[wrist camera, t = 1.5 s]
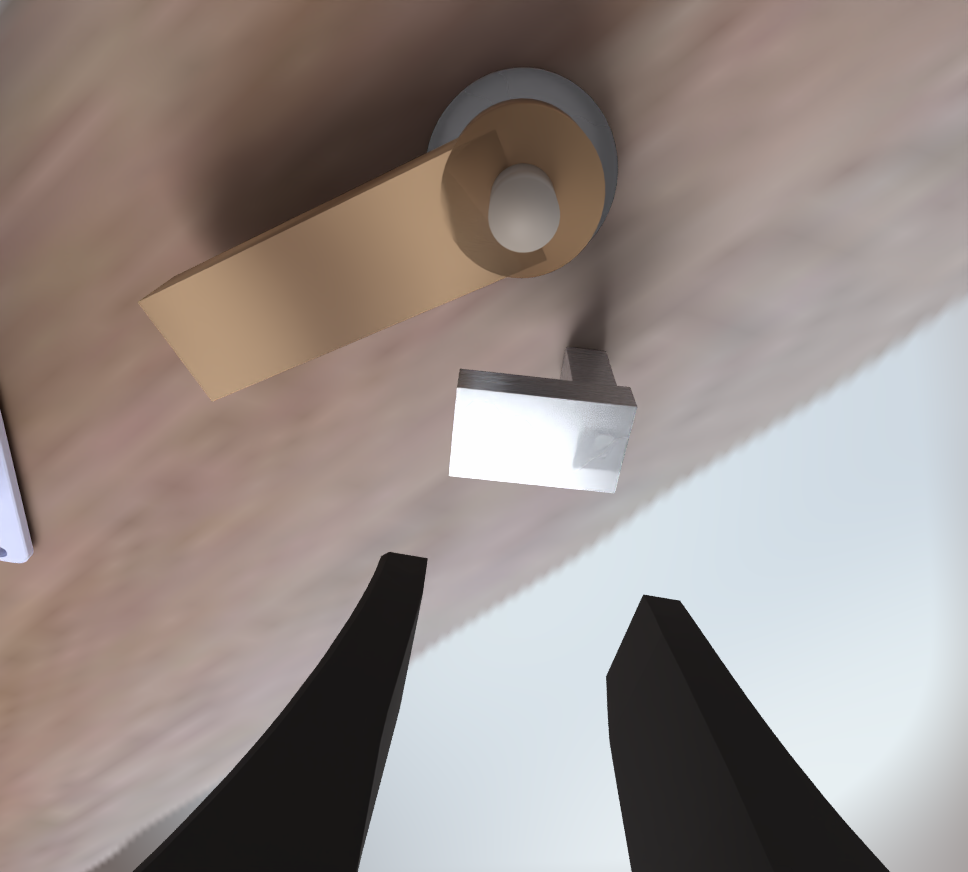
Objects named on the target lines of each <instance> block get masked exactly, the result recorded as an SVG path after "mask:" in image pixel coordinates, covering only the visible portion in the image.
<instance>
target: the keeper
mask: <svg viewBox="0 0 968 872" xmlns="http://www.w3.org/2000/svg"><path fill="white" fill-rule="evenodd" d="M636 410H637V405H636V402H635V399H634V397H633V394H632V391H631V388H630V387H622V386H617V385H616V382H615V379H614V375H613V372H612V369H611V366H610V363H609V359H608V356H607V353H606V351H599V350H590V349H581V348H572V347H566V350H565V356H564V361H563V366H562V372H561V377H560V380H559V379H549V378H540V377H531V376H522V375H513V374H504V373H495V372H486V371H476V370H467V369H460V372H459V378H458V385H457V394H456V405H455V415H454V426H453V437H452V448H451V458H450V469H449V476H456V477H465V478H475V479H484V480H494V481H503V482H513V483H522V484H532V485H541V486H551V487H560V488H570V489H580V490H589V491H599V492H608V493H615V489H616V486H617V482H618V478H619V474H620V470H621V467H622V463H623V459H624V455H625V452H626V448H627V444H628V440H629V436H630V433H631V429H632V425H633V421H634V417H635V414H636Z"/></svg>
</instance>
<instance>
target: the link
mask: <svg viewBox="0 0 968 872" xmlns="http://www.w3.org/2000/svg"><path fill="white" fill-rule="evenodd" d="M604 200H605V179H604V172H603V168H602V164H601V161H600V158H599V156H598V153H597V151H596V149H595V148H594V146H593V144H592V142H591V141H590V139H589V138H588V137H587V136H586V134H585V133H584V132H583V130H582V129H581V128H580V127H579V126H578V124H577V123H576V122H575V121H574V120H573V119H572V118H571V117H570V116H569V115H568V114H566V113H565V112H564V111H562V110H561V109H559V108H557V107H556V106H554V105H552V104H549V103H547V102H544V101H541V100H536V99H527V98H518V99H510V100H506V101H502V102H499V103H497V104H494V105H492V106H490V107H488V108H487V109H485V110H483V111H482V112H481V113H479V114H478V115H477V116H476V117H474V118H473V119H472V120H471V121H470V122H469V124H468V125H467V126H466V127H465V129H464V130H463V131H462V133H461V134H460V136H459V137H458V138H456V139H454V140H452V141H450V142H448V143H446V144H444V145H442V146H440V147H438V148H436V149H434V150H432V151H430V152H428V153H426V154H424V155H422V156H420V157H418V158H416V159H413V160H411V161H409V162H407V163H405V164H403V165H401V166H399V167H397V168H395V169H393V170H391V171H389V172H387V173H385V174H383V175H381V176H379V177H377V178H375V179H373V180H371V181H369V182H366V183H364V184H362V185H360V186H358V187H356V188H354V189H352V190H350V191H348V192H346V193H344V194H342V195H340V196H338V197H336V198H334V199H332V200H330V201H328V202H326V203H324V204H322V205H319V206H317V207H315V208H313V209H311V210H309V211H307V212H305V213H303V214H301V215H299V216H297V217H295V218H293V219H291V220H289V221H287V222H285V223H283V224H281V225H279V226H277V227H275V228H272V229H270V230H268V231H266V232H264V233H262V234H260V235H258V236H256V237H254V238H252V239H250V240H248V241H246V242H244V243H242V244H240V245H238V246H236V247H234V248H232V249H230V250H228V251H225V252H223V253H221V254H219V255H217V256H215V257H213V258H211V259H209V260H207V261H205V262H203V263H201V264H199V265H197V266H195V267H193V268H191V269H189V270H187V271H185V272H183V273H181V274H178V275H176V276H174V277H173V278H171V279H170V280H169V281H167V282H166V283H164V284H163V285H161V286H160V287H159V288H157V289H156V290H154V291H153V292H152V293H150V294H149V295H147V296H146V297H144V298H143V299H142V300H140V301H139V302H138V303H139V305H140V306H141V307H142V309H143V310H144V311H145V313H146V314H147V315H148V317H149V318H150V319H151V321H152V322H153V323H154V325H155V326H156V327H157V329H158V330H159V331H160V333H161V334H162V335H163V337H164V338H165V339H166V341H167V342H168V343H169V345H170V346H171V347H172V349H173V350H174V351H175V353H176V354H177V355H178V357H179V358H180V359H181V361H182V362H183V363H184V365H185V366H186V367H187V369H188V370H189V371H190V373H191V374H192V376H193V377H194V378H195V380H196V381H197V382H198V384H199V385H200V386H201V388H202V389H203V390H204V392H205V393H206V394H207V396H208V397H209V398H210V400H211V401H212V402H213V401H215V400H218V399H220V398H222V397H225V396H227V395H230V394H232V393H234V392H237V391H239V390H241V389H244V388H246V387H248V386H251V385H253V384H256V383H258V382H260V381H263V380H265V379H267V378H270V377H272V376H274V375H277V374H279V373H282V372H284V371H286V370H289V369H291V368H293V367H296V366H298V365H300V364H303V363H305V362H308V361H310V360H312V359H315V358H317V357H319V356H322V355H324V354H326V353H329V352H331V351H334V350H336V349H338V348H341V347H343V346H345V345H348V344H350V343H352V342H355V341H357V340H360V339H362V338H364V337H367V336H369V335H371V334H374V333H376V332H378V331H381V330H383V329H386V328H388V327H390V326H393V325H395V324H397V323H400V322H402V321H404V320H407V319H409V318H412V317H414V316H416V315H419V314H421V313H423V312H426V311H428V310H430V309H433V308H435V307H437V306H440V305H442V304H445V303H447V302H449V301H452V300H454V299H456V298H459V297H461V296H463V295H466V294H468V293H471V292H473V291H475V290H478V289H480V288H482V287H485V286H487V285H489V284H492V283H494V282H497V281H499V280H501V279H504V278H506V277H511V278H530V277H536V276H541V275H544V274H547V273H550V272H553V271H555V270H557V269H559V268H561V267H562V266H564V265H565V264H567V263H568V262H570V261H571V260H572V259H573V258H575V257H576V256H577V255H578V254H579V253H580V252H581V251H582V250H583V249H584V247H585V246H586V245H587V243H588V242H589V241H590V239H591V238H592V236H593V234H594V232H595V230H596V229H597V226H598V224H599V221H600V219H601V215H602V211H603V208H604Z"/></svg>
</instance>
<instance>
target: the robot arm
mask: <svg viewBox="0 0 968 872" xmlns="http://www.w3.org/2000/svg"><path fill="white" fill-rule="evenodd" d="M32 554H33V546H32V542H31V537H30V533H29V529H28V525H27V521H26V516H25V512H24V508H23V504H22V500H21V495H20V491H19V487H18V483H17V478H16V474H15V470H14V466H13V462H12V457H11V453H10V449H9V445H8V440H7V436H6V432H5V428H4V424H3V419H2V415H1V411H0V560H1V561H7V562H13V563H24V562H26V561H27V560H28V559H29V558H30V557H31V556H32ZM427 559H428V558H422V557H416V556H410V555H404V554H399V553H393V552H388V553H386V554H384V555H383V556H381V558H380V561H379V563H378V566H377V568H376V571H375V573H374V575H373V577H372V579H371V581H370V583H369V585H368V587H367V589H366V591H365V592H364V594H363V596H362V598H361V599H360V601H359V603H358V604H357V606H356V608H355V609H354V611H353V613H352V614H351V616H350V618H349V619H348V621H347V622H346V624H345V625H344V627H343V628H342V630H341V631H340V633H339V634H338V636H337V637H336V639H335V640H334V642H333V643H332V645H331V646H330V648H329V649H328V651H327V652H326V654H325V655H324V657H323V658H322V660H321V661H320V662H319V664H318V665H317V666H316V668H315V669H314V670H313V672H312V673H311V674H310V676H309V677H308V678H307V680H306V681H305V682H304V684H303V685H302V686H301V687H300V689H299V690H298V691H297V693H296V694H295V695H294V697H293V698H292V699H291V701H290V702H289V703H288V705H287V706H286V707H285V708H284V710H283V711H282V712H281V713H280V715H279V716H278V717H277V718H276V720H275V721H274V722H273V723H272V724H271V726H270V727H269V728H268V729H267V730H266V732H265V733H264V734H263V735H262V736H261V738H260V739H259V740H258V741H257V742H256V743H255V745H254V746H253V747H252V748H251V749H250V750H249V751H248V753H247V754H246V755H245V756H244V757H243V758H242V759H241V761H240V762H239V763H238V764H237V765H236V766H235V767H234V768H233V770H232V771H231V772H230V773H229V774H228V775H227V776H226V777H225V778H224V779H223V780H222V782H221V783H220V784H219V785H218V786H217V787H216V788H215V789H214V790H213V791H212V792H211V793H210V794H209V795H208V796H207V797H206V799H205V800H204V801H203V802H202V803H201V804H200V805H199V806H198V807H197V808H196V809H195V810H194V811H193V812H192V813H191V814H190V815H189V817H188V818H187V819H186V820H185V821H184V822H183V823H182V824H181V825H180V826H179V827H178V828H177V829H176V830H175V831H174V832H173V833H172V834H171V835H170V836H169V837H168V838H167V839H166V840H165V841H164V842H163V843H162V844H161V845H160V846H159V847H158V848H157V849H156V850H155V851H154V852H153V853H152V854H151V855H150V856H149V857H148V858H147V859H145V860H144V862H142V863H141V864H140V865H139V866H138V867H137V868H136V869H135V870H134V871H133V872H358V868H359V864H360V859H361V855H362V851H363V847H364V844H365V840H366V836H367V832H368V828H369V824H370V821H371V816H372V813H373V809H374V805H375V801H376V797H377V794H378V790H379V786H380V782H381V778H382V775H383V771H384V767H385V763H386V759H387V756H388V752H389V748H390V744H391V740H392V736H393V732H394V728H395V725H396V721H397V717H398V713H399V709H400V704H401V700H402V695H403V690H404V684H405V679H406V675H407V670H408V665H409V660H410V655H411V650H412V645H413V640H414V635H415V630H416V625H417V620H418V615H419V610H420V605H421V600H422V595H423V588H424V581H425V574H426V567H427ZM606 681H607V682H606V683H607V707H608V708H607V709H608V726H609V739H610V747H611V753H612V759H613V765H614V771H615V777H616V783H617V789H618V795H619V801H620V806H621V812H622V818H623V824H624V829H625V836H626V841H627V847H628V853H629V859H630V865H631V870H632V872H889V870H888V869H887V868H886V867H885V866H884V865H883V864H882V863H881V861H880V860H879V859H878V858H877V857H876V856H875V855H874V854H873V852H872V851H871V850H870V849H869V848H868V847H867V846H866V845H865V844H864V842H863V841H862V840H861V839H860V838H859V837H858V836H857V835H856V834H855V832H854V831H853V830H852V829H851V828H850V827H849V826H848V825H847V823H846V822H845V821H844V820H843V819H842V818H841V817H840V815H839V814H838V813H837V812H836V811H835V809H834V808H833V807H832V806H831V805H830V803H829V802H828V801H827V800H826V799H825V798H824V796H823V795H822V794H821V793H820V791H819V790H818V789H817V788H816V786H815V785H814V784H813V783H812V781H811V780H810V779H809V778H808V776H807V775H806V774H805V773H804V771H803V770H802V769H801V768H800V767H799V765H798V764H797V763H796V762H795V760H794V759H793V758H792V756H791V755H790V754H789V753H788V751H787V750H786V749H785V747H784V746H783V745H782V743H781V742H780V741H779V739H778V738H777V737H776V735H775V734H774V733H773V732H772V730H771V729H770V728H769V726H768V725H767V723H766V722H765V721H764V719H763V718H762V717H761V715H760V714H759V713H758V711H757V710H756V709H755V707H754V706H753V705H752V703H751V702H750V700H749V699H748V698H747V696H746V695H745V694H744V692H743V691H742V689H741V688H740V686H739V685H738V683H737V682H736V681H735V679H734V678H733V676H732V675H731V674H730V672H729V671H728V669H727V668H726V666H725V665H724V663H723V662H722V661H721V659H720V658H719V656H718V655H717V653H716V652H715V651H714V649H713V648H712V646H711V645H710V643H709V642H708V640H707V639H706V637H705V636H704V635H703V633H702V632H701V630H700V629H699V627H698V626H697V624H696V623H695V621H694V620H693V619H692V617H691V616H690V614H689V613H688V611H687V610H686V609H685V607H684V606H683V604H682V603H681V602H680V601H679V600H672V599H667V598H661V597H655V596H649V595H643V597H642V599H641V601H640V603H639V605H638V607H637V610H636V612H635V614H634V616H633V618H632V621H631V623H630V625H629V627H628V629H627V632H626V634H625V636H624V638H623V640H622V643H621V645H620V647H619V649H618V652H617V654H616V656H615V658H614V660H613V662H612V665H611V667H610V669H609V671H608V673H607V676H606Z"/></svg>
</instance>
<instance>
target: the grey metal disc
mask: <svg viewBox="0 0 968 872" xmlns="http://www.w3.org/2000/svg"><path fill="white" fill-rule="evenodd" d="M518 98H527V99H536V100H541V101H544V102H547V103H549V104H552V105H554V106H556V107H557V108H559V109H561V110H562V111H564V112H565V113H566V114H568V115H569V116H570V117H571V118H572V119H573V120H574V121H575V122H576V123H577V124H578V126H579V127H580V128H581V129H582V130H583V132H584V133H585V134H586V136H587V137H588V138H589V139H590V141H591V142H592V144H593V146H594V148H595V149H596V151H597V153H598V156H599V158H600V161H601V164H602V168H603V172H604V179H605V200H604V208H603V211H602V215H601V219H600V221H599V224H598V226H597V229H596V230H595V232H594V234H593V236H592V238H593V237H594V235H595V234H596V233H597V231H598V230H599V228H600V227H601V225H602V224H603V222H604V220H605V218H606V216H607V214H608V212H609V210H610V207H611V204H612V202H613V199H614V194H615V190H616V185H617V175H618V159H617V152H616V145H615V142H614V138H613V135H612V131H611V129H610V127H609V125H608V122H607V120H606V118H605V116H604V115H603V113H602V112H601V110H600V108H599V107H598V106H597V104H596V103H595V102H594V101H593V99H592V98H591V97H590V96H589V95H588V94H587V93H586V92H585V91H583V90H582V89H581V88H580V87H579V86H577V85H576V84H574V83H573V82H571V81H570V80H568V79H567V78H565V77H563V76H560V75H558V74H556V73H554V72H551V71H547V70H544V69H539V68H533V67H514V68H507V69H502V70H499V71H496V72H492V73H490V74H488V75H486V76H483V77H481V78H479V79H478V80H476V81H475V82H473V83H472V84H470V85H469V86H467V87H466V88H465V89H464V90H463V91H462V92H461V93H459V94H458V95H457V96H456V97H455V98H454V100H453V101H452V102H451V103H450V104H449V105H448V107H447V108H446V109H445V111H444V112H443V114H442V115H441V117H440V118H439V120H438V122H437V124H436V126H435V129H434V131H433V133H432V136H431V139H430V142H429V145H428V150H427V153H428V152H430V151H432V150H434V149H436V148H438V147H440V146H442V145H444V144H446V143H448V142H450V141H452V140H454V139H456V138H458V137H459V136H460V134H461V133H462V131H463V130H464V129H465V127H466V126H467V125H468V124H469V122H470V121H471V120H472V119H473V118H474V117H476V116H477V115H478V114H479V113H481V112H482V111H483V110H485V109H487V108H488V107H490V106H492V105H494V104H497V103H499V102H502V101H506V100H510V99H518ZM592 238H591V239H592ZM591 239H590V240H591ZM588 243H589V242H588ZM588 243H587V244H588Z"/></svg>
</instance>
